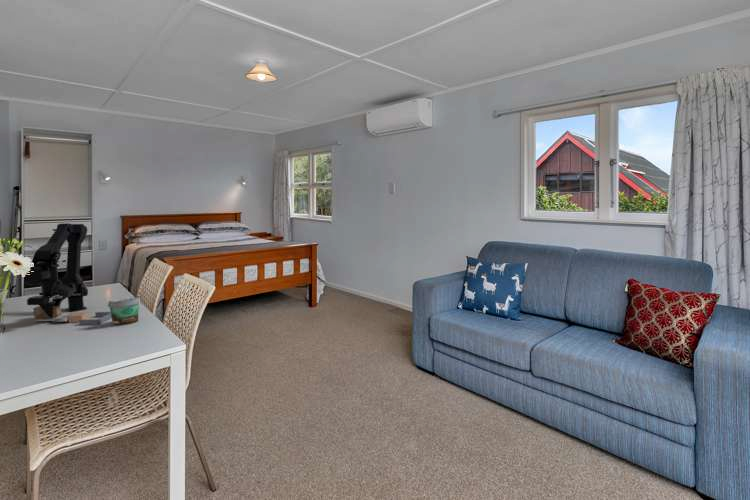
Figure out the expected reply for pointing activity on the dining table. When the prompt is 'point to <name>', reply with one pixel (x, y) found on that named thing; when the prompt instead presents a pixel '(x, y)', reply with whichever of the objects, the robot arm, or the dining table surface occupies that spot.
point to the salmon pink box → (77, 317)
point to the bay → (104, 315)
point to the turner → (56, 317)
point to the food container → (124, 311)
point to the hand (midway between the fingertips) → (53, 316)
